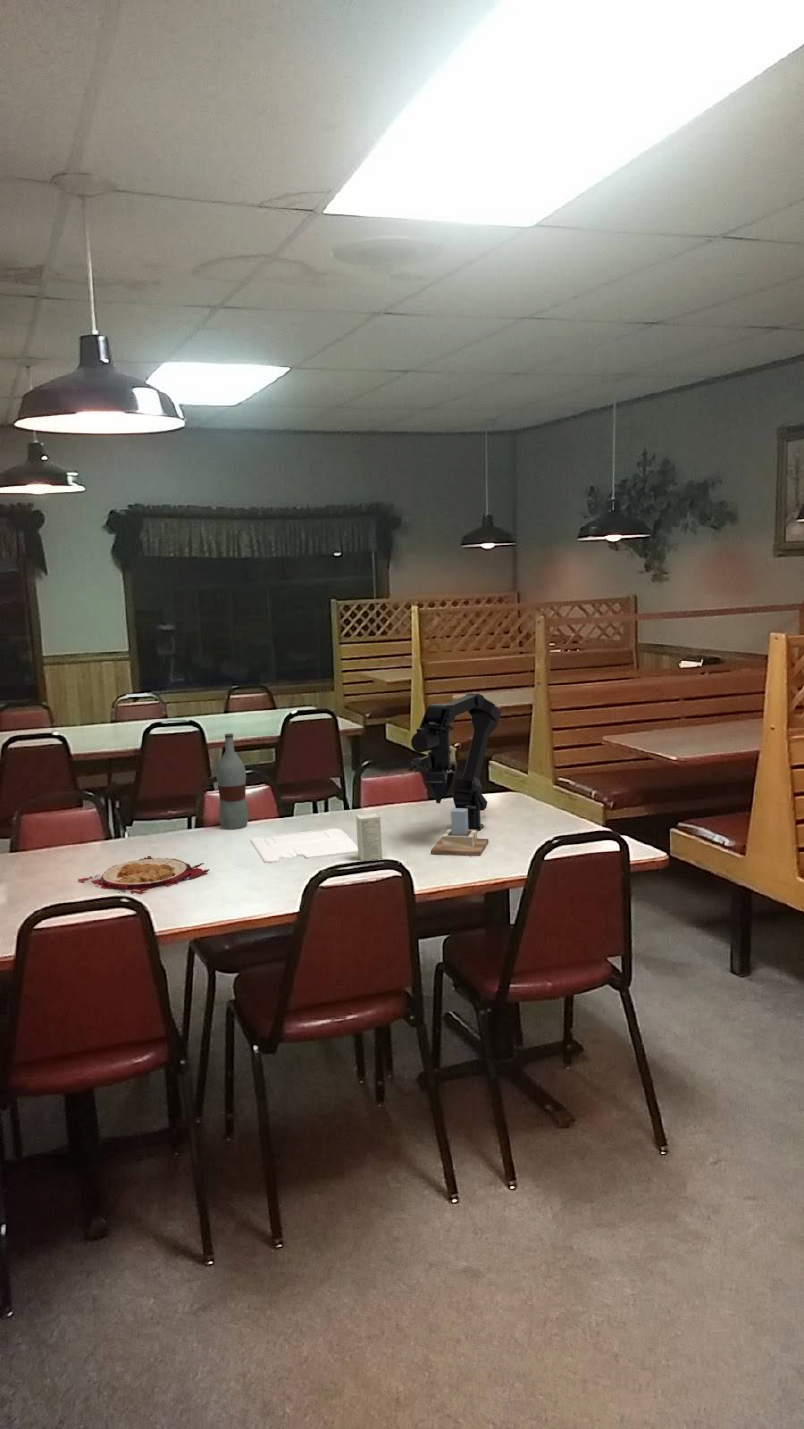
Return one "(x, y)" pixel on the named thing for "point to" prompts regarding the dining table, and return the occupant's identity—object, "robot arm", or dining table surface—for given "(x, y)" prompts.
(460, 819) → the peg
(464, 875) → the dining table surface
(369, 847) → the skincare box
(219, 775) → the bottle
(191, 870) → the plate with food
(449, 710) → the robot arm
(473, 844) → the socket block
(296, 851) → the tray
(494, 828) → the dining table surface
